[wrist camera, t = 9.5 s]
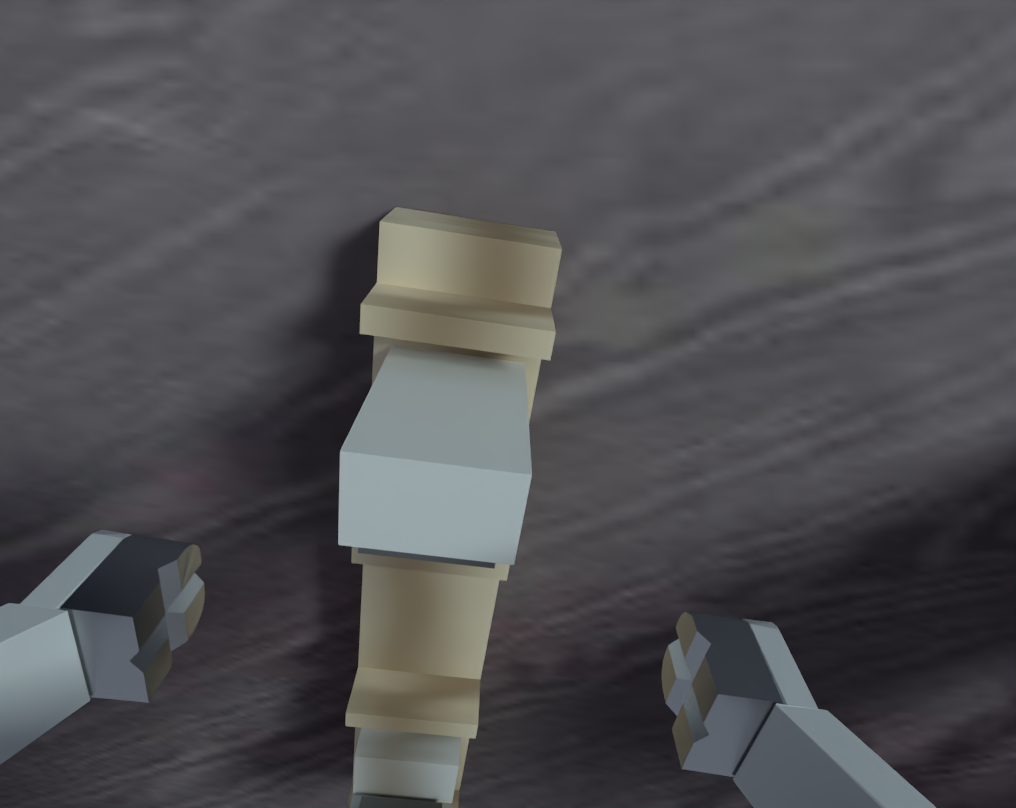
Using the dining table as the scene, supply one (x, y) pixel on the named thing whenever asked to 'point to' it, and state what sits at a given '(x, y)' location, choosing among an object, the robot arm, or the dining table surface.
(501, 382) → the grey block
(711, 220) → the dining table surface
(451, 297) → the rail
